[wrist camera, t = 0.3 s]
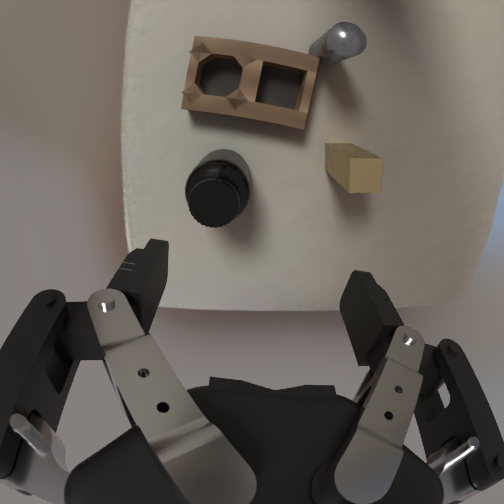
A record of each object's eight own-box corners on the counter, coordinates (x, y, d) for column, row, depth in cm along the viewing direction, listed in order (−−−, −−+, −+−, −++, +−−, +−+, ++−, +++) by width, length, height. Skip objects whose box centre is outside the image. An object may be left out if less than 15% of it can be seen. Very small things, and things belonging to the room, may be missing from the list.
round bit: (311, 37, 28) (333, 17, 19) (339, 45, 28) (369, 29, 19) (306, 62, 29) (326, 48, 21) (334, 69, 30) (363, 60, 21)
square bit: (325, 143, 34) (350, 158, 26) (351, 143, 34) (383, 158, 26) (325, 169, 36) (349, 193, 28) (350, 169, 36) (380, 192, 27)
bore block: (197, 41, 28) (192, 35, 25) (313, 61, 29) (319, 57, 26) (185, 108, 32) (178, 108, 29) (298, 127, 34) (303, 129, 30)
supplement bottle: (250, 198, 38) (250, 239, 28) (198, 199, 38) (179, 239, 28) (250, 147, 35) (250, 167, 24) (196, 148, 35) (172, 170, 24)
